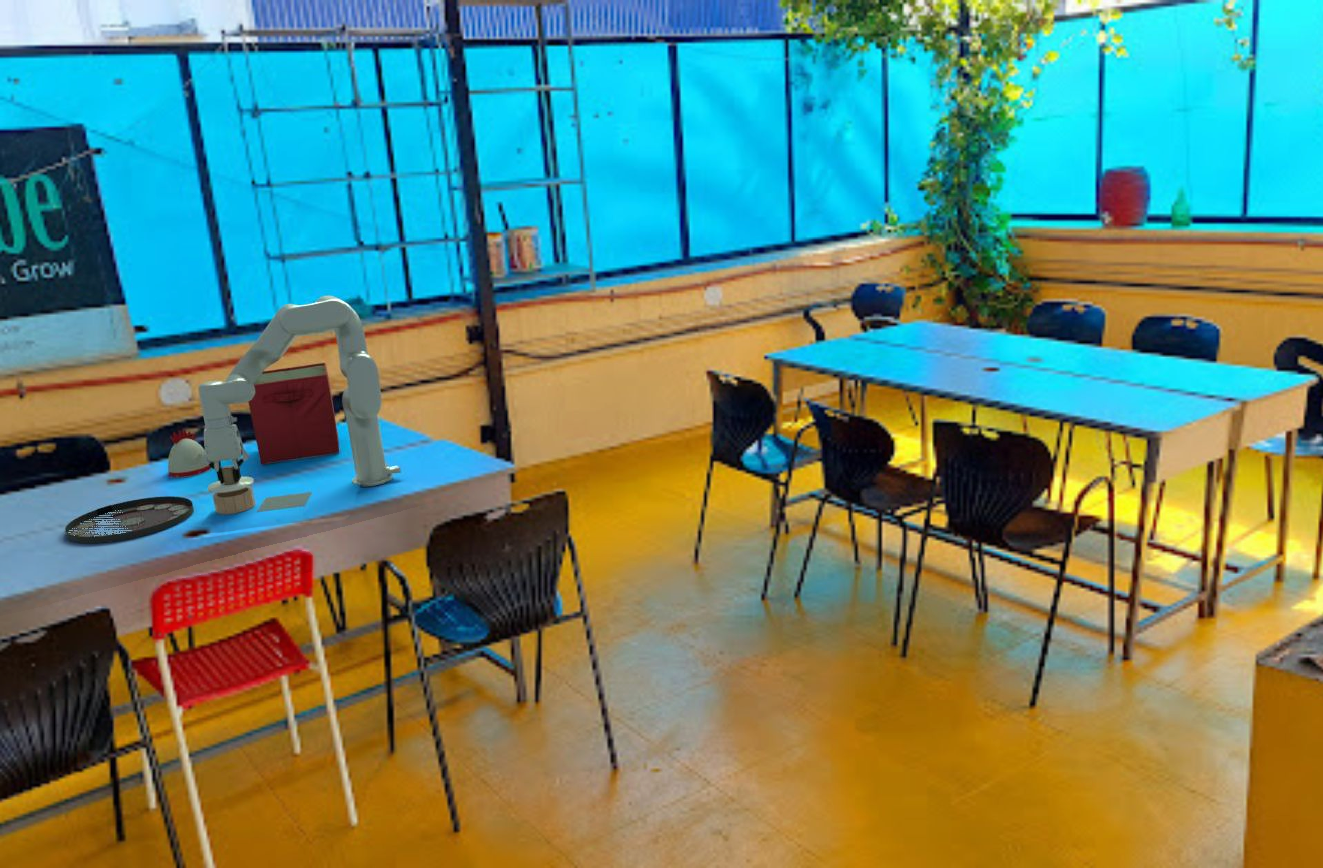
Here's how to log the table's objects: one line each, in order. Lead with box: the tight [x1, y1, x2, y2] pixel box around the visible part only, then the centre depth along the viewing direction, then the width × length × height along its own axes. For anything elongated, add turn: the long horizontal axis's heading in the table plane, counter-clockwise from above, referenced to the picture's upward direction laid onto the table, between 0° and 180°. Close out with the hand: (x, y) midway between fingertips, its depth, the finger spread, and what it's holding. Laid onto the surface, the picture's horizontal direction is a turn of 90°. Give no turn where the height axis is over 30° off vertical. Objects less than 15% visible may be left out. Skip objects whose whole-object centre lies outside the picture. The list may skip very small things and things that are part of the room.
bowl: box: [212, 486, 256, 515], centre depth 332 cm, size 11×11×6 cm
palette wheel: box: [64, 496, 195, 544], centre depth 331 cm, size 35×35×3 cm
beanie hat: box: [167, 429, 212, 478], centre depth 381 cm, size 14×14×15 cm
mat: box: [256, 491, 313, 513], centre depth 334 cm, size 14×14×1 cm
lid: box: [207, 465, 255, 494], centre depth 330 cm, size 13×13×6 cm
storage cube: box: [248, 362, 340, 466], centre depth 392 cm, size 32×28×29 cm
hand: (230, 481), depth 330 cm, fingers closed on lid, 3 cm apart
